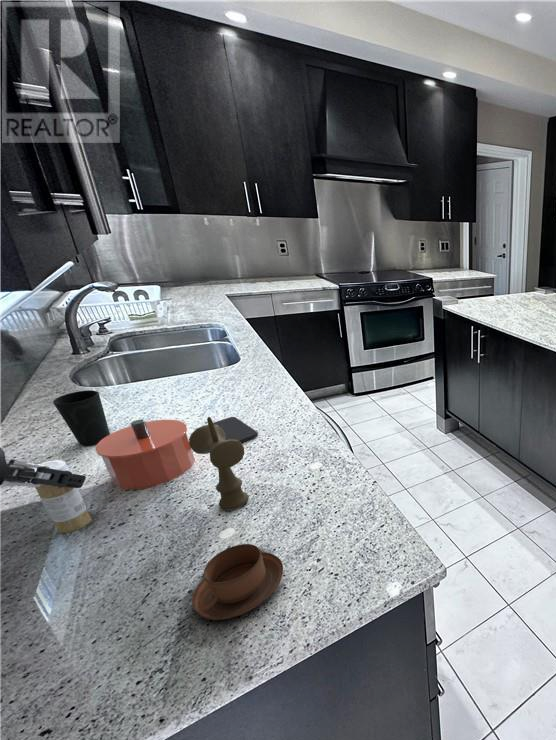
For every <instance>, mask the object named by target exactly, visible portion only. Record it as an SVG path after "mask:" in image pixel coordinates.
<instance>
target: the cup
mask: <svg viewBox="0 0 556 740" xmlns="http://www.w3.org/2000/svg"><path fill="white" fill-rule="evenodd" d="M52 403H53V405H54V406H55V408H56V410H57V411H58V413H59V414H60V416H61V418H62V419H63V420H64V422H65V423H66V425H67V427H68V429H69V430H70V432H71V433H72V435H73V436H74V438H75V439H76V441H77V442H78V444H79V446H81V447H91V446H96V445H97V444H98V443H99V442H100V441H101V440H102V439H103V438H105V437H106V436H108V435H110V434H111V433H110V428H109V425H108V422H107V418H106V417H107V416H106V415H105V410H104V407H103V403H102V399H101V397H100V392H99V391H97V390H93V389H91V390H89V389H88V390H87V389H85V390H79V391H74V392H69V393H66V394H63V395H61V396H58V397H56V398H54V400H53V401H52Z"/></svg>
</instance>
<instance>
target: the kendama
mask: <svg viewBox="0 0 556 740" xmlns="http://www.w3.org/2000/svg"><path fill="white" fill-rule="evenodd" d="M206 421H207V424H204V425H201V426H199V427H198V428H195V430H193V432H191V434H190V436H189V437H188V440H189V445H190V447H191V449H192V452H193V453H195V454H197V455H207V454H209V461H210V463H211V464H212V466H214V467H215V468H216V469H217V472H218V483H216V485H215V490H216V491H217V493H219V494H220V499H219V502H218V506H219V508H220V509H222V510H223V511H232V510H236V509H239V508H240V507H242V506H244V505H245V504H246V503H248V501H249V499H250V496H249V494H248V493H247V492H245V491H244V490H243V488H242V486H243V480H242V479H241V478H239V477H237V476H236V475H235V472H234V471H233V469H232V467H234V466H236V465H237V464H239V463H240V462H241V461H242V460H243V458H244V456H245V447H244V445H243V442H239V441H238V440H225V432H224V430H223V428H221V427H220V426H218V425H214V424H213V423H214V421H213V419H212V417H210V416H208V417H207V418H206Z"/></svg>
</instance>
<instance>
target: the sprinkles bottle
mask: <svg viewBox="0 0 556 740" xmlns="http://www.w3.org/2000/svg"><path fill="white" fill-rule="evenodd" d="M37 465H44V466H48V467H50V469H56V470H62V471H70V469H69V466H68V465H67V463H66V461H64V460H63V459H53V460H48V461H44V462H41V463H39V464H37ZM33 469H35V472H36V470H37V468H33ZM30 481H31V480H30ZM34 488H35V491H36V492H37V494H38V496H39V500H40V501H41V503H42V505H43V507H44V509H45V510H46V512H47V514H48V516H49V518H50V520H51V522H53V524H54V526H55V527H56V531H57V533H59V534H68V533H72V532H76V531H78V530H80V529H82V528H84V527H86V526H87V525H88V524H90V522H92V517H91V515H90V513H89V512H88V509H87V505H86V503H85V501H84V499H83V496H82V495H81V493H80V490H79V488H71V487H62V488H60V487H58V486H56V487H52V486H49V485H41V486H40V487H34Z"/></svg>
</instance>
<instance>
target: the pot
mask: <svg viewBox="0 0 556 740" xmlns="http://www.w3.org/2000/svg"><path fill="white" fill-rule="evenodd" d="M101 459H102V461H103V463H104V466H105V467H106V470H107V472H108V475H109V476H110V479H111V482H112V483H113V486H115V487H116V488H119V489H121V490H134V491H135V490H142V489H147V488H153V487H155V486H159V485H162V484H165V483H167V482H170V481H172V480H174V479H176V478H179V477H180V476H182V475H184V474H185V473H186V472H187V471H189V470H190V469H191V468H192V467H193V465H194V463H195V461H196V458H195V456H194V451H193V450H192V449H191V447H190V445H189V437H188V434H187V432H186V433H185V434H184V436H182V437H181V438H180V439H179V440H177V441H176V442H174V443H172V444H170V445H168V446H166V447H164V448H161V449H159V450H156V451H153V452H149V453H146V454H142V455H138V456H132V457H125V458H107V457H102V456H101Z"/></svg>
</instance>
